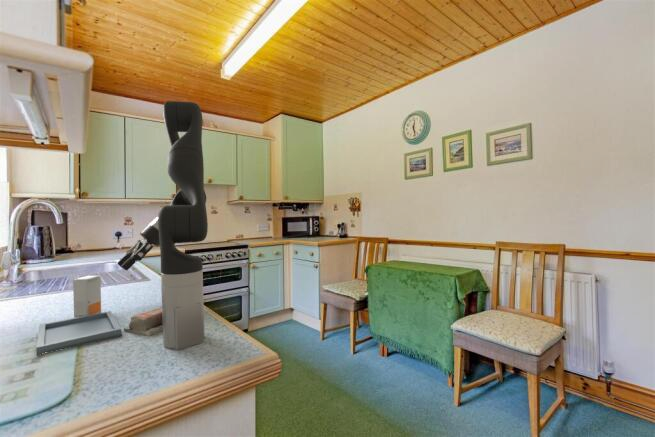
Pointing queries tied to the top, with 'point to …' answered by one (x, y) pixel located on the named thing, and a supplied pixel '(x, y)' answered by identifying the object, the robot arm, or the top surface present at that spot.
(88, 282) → the skincare box
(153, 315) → the packaged product
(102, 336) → the tray
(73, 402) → the top surface
